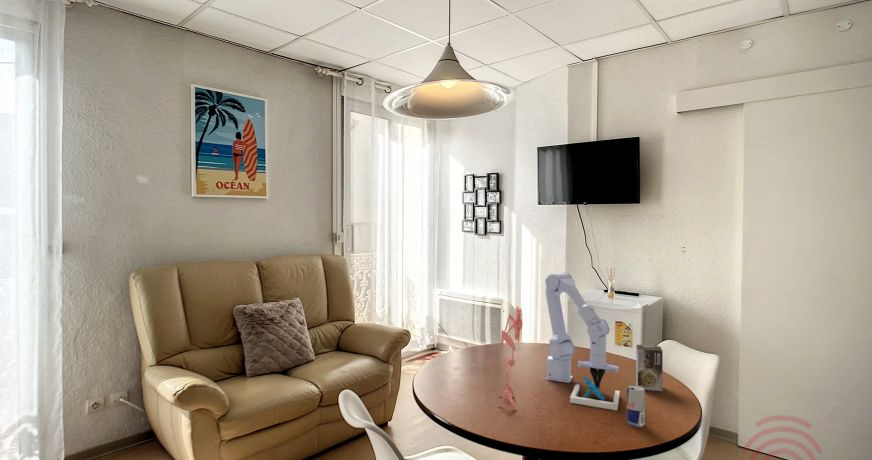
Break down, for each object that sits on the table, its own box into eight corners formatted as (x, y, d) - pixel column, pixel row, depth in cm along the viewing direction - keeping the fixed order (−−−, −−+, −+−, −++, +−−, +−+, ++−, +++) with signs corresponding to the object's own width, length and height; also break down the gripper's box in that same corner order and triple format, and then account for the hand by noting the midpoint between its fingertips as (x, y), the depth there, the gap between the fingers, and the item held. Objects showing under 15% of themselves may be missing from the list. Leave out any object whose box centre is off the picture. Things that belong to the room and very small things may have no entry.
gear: (606, 401, 163) (586, 378, 166) (593, 411, 164) (573, 388, 167) (606, 394, 173) (587, 373, 176) (594, 404, 174) (575, 382, 177)
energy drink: (623, 420, 152) (624, 384, 151) (639, 420, 152) (639, 384, 152) (631, 428, 146) (632, 391, 146) (647, 427, 147) (648, 390, 146)
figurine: (495, 416, 154) (499, 313, 153) (497, 388, 179) (500, 300, 178) (542, 421, 152) (546, 316, 150) (537, 391, 177) (540, 302, 176)
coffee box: (660, 386, 183) (661, 346, 182) (662, 391, 176) (663, 350, 176) (635, 383, 186) (636, 343, 185) (636, 388, 179) (637, 348, 179)
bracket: (570, 402, 166) (570, 397, 166) (575, 389, 179) (575, 384, 179) (617, 410, 159) (617, 404, 159) (619, 396, 172) (619, 391, 172)
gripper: (618, 352, 176) (618, 387, 177) (579, 347, 182) (579, 381, 183) (617, 357, 170) (617, 393, 170) (577, 352, 176) (576, 387, 176)
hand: (597, 387), depth 176 cm, fingers closed
